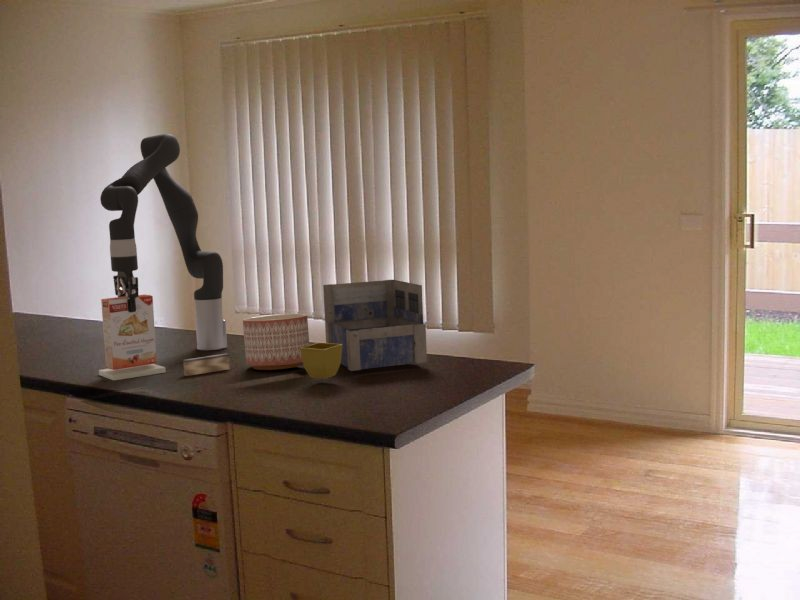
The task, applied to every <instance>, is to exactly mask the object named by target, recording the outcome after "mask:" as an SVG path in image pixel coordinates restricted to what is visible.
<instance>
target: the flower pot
mask: <svg viewBox="0 0 800 600" xmlns="http://www.w3.org/2000/svg"><path fill="white" fill-rule="evenodd" d="M300 350H301V356H302V361H303V365H302V366H304V369H305V372H306V373H307V374H308V376H309V377H310V378H312V379H322V380H325V379H328V378H332V377H334V376H336V374H337V373H338V371H339V369H340V366H341V364H340V363H341V356H342V344H333V343H326V342H316V343H313V344H309V345H308V346H304V347H301V348H300Z"/></svg>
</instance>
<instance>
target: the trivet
mask: <svg viewBox="0 0 800 600" xmlns="http://www.w3.org/2000/svg"><path fill="white" fill-rule="evenodd" d="M166 372H167V370H166V366H161V365H159V364H157V363H155V364H149V365H142V366H136V367H130V368H124V369H117V370H112V369H109V368H104V369H98V375H99V376H101V377H103V378H105V379H109V380H111V381H118V380H119V381H120V380H125V379H132V378H139V377H144V376H152V375H159V374H164V373H166Z"/></svg>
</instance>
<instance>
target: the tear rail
mask: <svg viewBox="0 0 800 600" xmlns="http://www.w3.org/2000/svg"><path fill="white" fill-rule="evenodd" d="M182 362H183V363H182V364H183V375H184V376H185V377H189V376H195V375H200V374H201V375H202V374H208V373H213V372H221V371H226V370H227V371H228V370H230V369H231V366H230V354H229V353H221V354H214V355H213V354H212V355H207V356H201V357H195V358H186V359H182Z"/></svg>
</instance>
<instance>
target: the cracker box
mask: <svg viewBox="0 0 800 600" xmlns="http://www.w3.org/2000/svg"><path fill="white" fill-rule="evenodd" d="M100 300H101V301H100V302H101V303H100V304H101V313H102V314H101V317H102V318H101V319H102V329H103V330H102V332H103V344H104V345H103V346H104V347H103V348H104V358H105V369H112V370H117V369H124V368H130V367H136V366H142V365H149V364H157V349H156V347H157V346H156V331H155V330H156V329H155V328H156V327H155V315H154V312H155V311H154V299H153V295H151V294H138V297H136V299H135V302H136V311H135V312H128V304H127V296H124V297H118V296H117V297H110V298H109V297H108V298H107V297H106V298H101V299H100Z"/></svg>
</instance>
